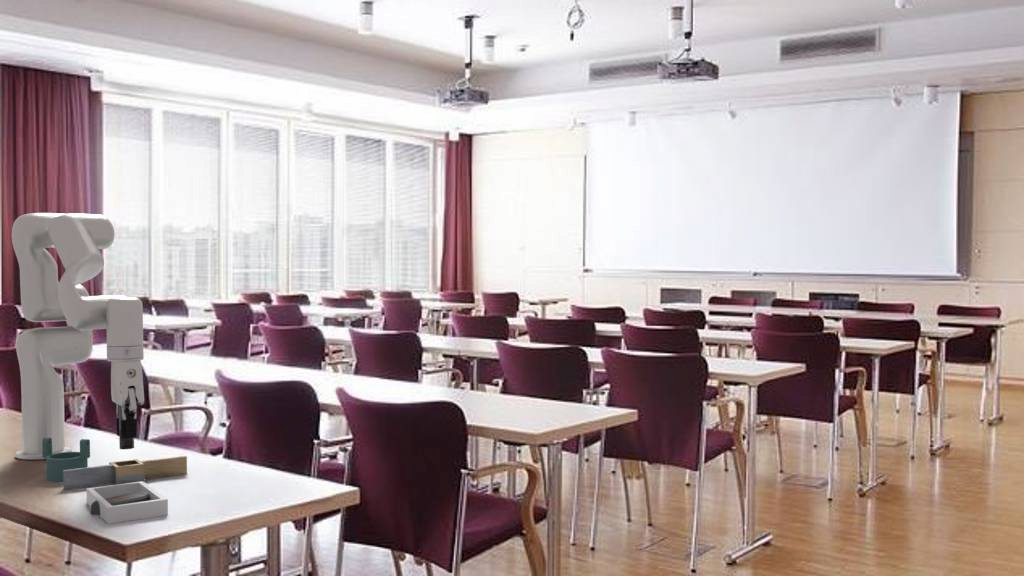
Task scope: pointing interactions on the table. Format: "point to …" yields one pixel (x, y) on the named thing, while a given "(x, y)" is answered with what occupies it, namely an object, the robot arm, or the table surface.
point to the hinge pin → (124, 443)
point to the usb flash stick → (121, 500)
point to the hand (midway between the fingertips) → (126, 435)
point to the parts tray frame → (127, 511)
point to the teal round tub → (64, 459)
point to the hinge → (124, 472)
